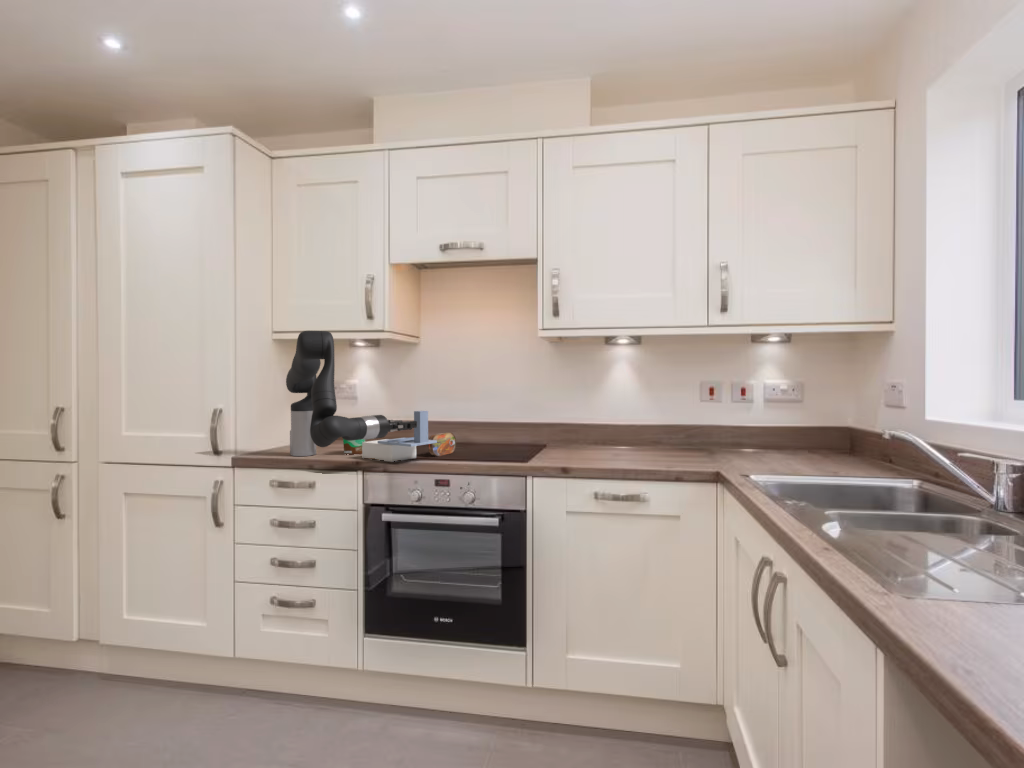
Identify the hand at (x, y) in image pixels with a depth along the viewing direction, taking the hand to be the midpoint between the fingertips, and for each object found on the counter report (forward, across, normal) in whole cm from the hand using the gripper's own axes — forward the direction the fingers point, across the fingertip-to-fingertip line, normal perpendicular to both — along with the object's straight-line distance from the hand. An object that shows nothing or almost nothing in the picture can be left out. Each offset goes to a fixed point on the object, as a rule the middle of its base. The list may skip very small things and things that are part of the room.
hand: (407, 423), depth 192 cm
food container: (+8, +36, +14) cm, 39 cm away
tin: (+25, +6, +14) cm, 29 cm away
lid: (+7, +7, +8) cm, 13 cm away
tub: (+7, +17, +14) cm, 23 cm away
